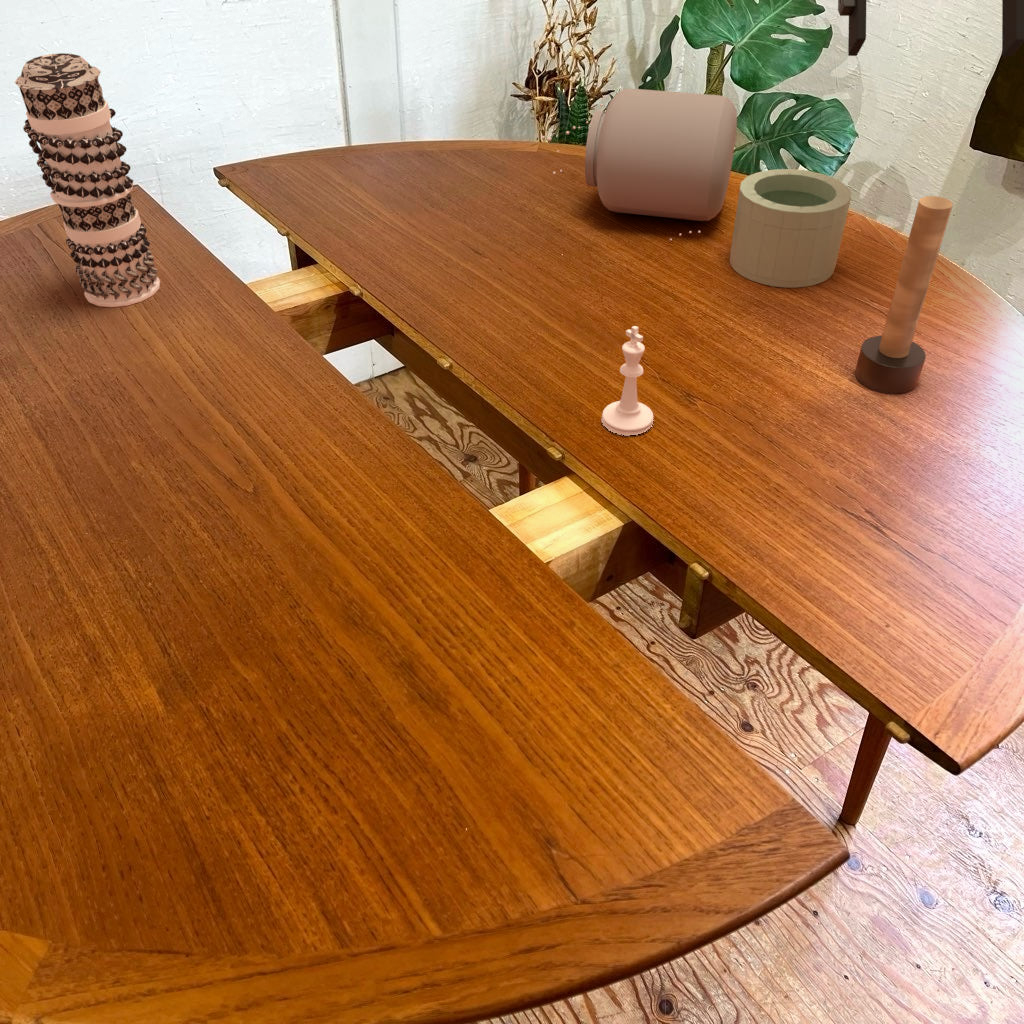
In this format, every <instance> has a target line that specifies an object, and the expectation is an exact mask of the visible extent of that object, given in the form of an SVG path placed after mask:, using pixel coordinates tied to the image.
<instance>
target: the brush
mask: <svg viewBox="0 0 1024 1024" xmlns="http://www.w3.org/2000/svg"><path fill="white" fill-rule="evenodd" d="M953 206H954V203H953V202H952V201H951V200H949V199H948V198H945V197H942V196H938V195H937V196H935V195H927V196H922V197H921V198H919V200H918V202H917V207H916V209H915V210H916V211H915V214H914V218H913V221H912V225H911V229H910V232H909V236H908V239H907V243H906V247H905V250H904V254H903V257H902V261H901V264H900V265H901V266H900V269H899V273H898V276H897V280H896V283H895V287H894V291H893V294H892V298H891V301H890V305H889V309H888V313H887V316H886V320H885V324H884V326H883V331H882V334H881V335H875V336H871V337H869V338H867V339H865V340H864V341H863V342H862V344H861V346H860V350H859V354H858V358H857V362H856V365H855V369H854V375H855V378H856V380H857V382H859V383H860V384H861V385H863V386H864V387H866V388H868V389H870V390H872V391H875V392H878V393H884V394H891V395H893V394H894V395H896V394H897V395H899V394H904V393H905V394H906V393H908V392H910V391H913V390H914V389H915V388H916V387H917V386H918V384H919V381H920V377H921V374H922V371H923V367H924V364H925V361H926V357H927V354H926V352H925V350H924V349H923V347H922V346H920V345H919V344H918V343H916V342H915V341H913V340H914V337H915V333H916V330H917V327H918V323H919V320H920V318H921V317H920V316H921V313H922V310H923V308H924V303H925V299H926V297H927V293H928V290H929V287H930V283H931V280H932V276H933V273H934V270H935V267H936V263H937V261H938V257H939V254H940V250H941V247H942V243H943V240H944V237H945V234H946V231H947V230H946V229H947V226H948V223H949V220H950V216H951V213H952V209H953Z"/></svg>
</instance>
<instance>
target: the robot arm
mask: <svg viewBox="0 0 1024 1024" xmlns="http://www.w3.org/2000/svg"><path fill="white" fill-rule="evenodd" d="M1001 2H1002V3H1001V7H1002V9H1001V10H1002V11H1001V12H1002V13H1001V17H1002V18H1001V19H1002V20H1001V57H1002V58H1011V57H1013V55H1014V54H1015V53H1016V51H1017V50H1018V49H1019V48H1020V46H1021V45H1022V44H1023V43H1024V0H1001ZM837 11H838V14H839V16H841V17H848V38H847V39H848V41H847V43H848V45H847V47H848V49H847V50H848V51H847V56H848V57H857V56H858V55H859V53H860V51H861V49H862V47H863V46H864V44H865V42H866V40H867V0H837Z"/></svg>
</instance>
